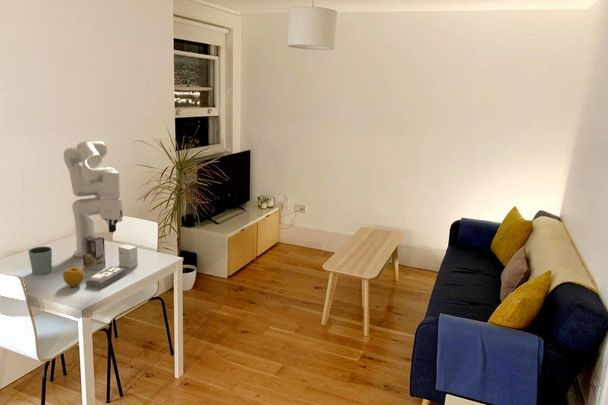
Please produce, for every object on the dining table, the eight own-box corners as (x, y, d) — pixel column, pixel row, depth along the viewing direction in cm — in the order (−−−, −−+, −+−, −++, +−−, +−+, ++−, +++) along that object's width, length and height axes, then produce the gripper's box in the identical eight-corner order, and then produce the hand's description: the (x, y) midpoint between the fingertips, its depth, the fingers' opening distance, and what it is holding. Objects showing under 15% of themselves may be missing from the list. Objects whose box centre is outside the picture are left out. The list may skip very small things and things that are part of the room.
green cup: (48, 276, 226) (47, 253, 223) (26, 276, 225) (24, 253, 222) (56, 268, 236) (54, 246, 233) (34, 268, 234) (33, 246, 231)
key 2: (113, 272, 234) (113, 267, 233) (121, 274, 233) (121, 268, 232) (107, 276, 230) (107, 270, 229) (115, 277, 229) (115, 271, 228)
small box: (138, 265, 247) (137, 246, 244) (130, 268, 242) (129, 249, 239) (126, 262, 250) (126, 243, 247) (118, 265, 245) (118, 246, 242)
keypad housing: (111, 271, 236) (111, 266, 235) (125, 274, 234) (125, 268, 233) (86, 286, 218) (86, 280, 217) (101, 288, 216) (101, 282, 215)
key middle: (105, 277, 228) (105, 271, 228) (113, 278, 227) (113, 272, 227) (99, 280, 224) (99, 274, 223) (107, 281, 223) (107, 276, 222)
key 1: (97, 279, 222) (97, 273, 222) (105, 280, 221) (105, 274, 221) (91, 282, 218) (90, 276, 217) (99, 284, 217) (99, 278, 216)
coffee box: (106, 266, 242) (104, 237, 238) (97, 270, 236) (95, 241, 232) (92, 263, 245) (90, 235, 241) (82, 267, 239) (81, 238, 235)
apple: (75, 280, 223) (74, 263, 221) (89, 284, 220) (88, 266, 218) (59, 286, 215) (58, 269, 213) (73, 291, 212) (72, 272, 210)
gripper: (92, 195, 220) (94, 231, 224) (120, 199, 217) (120, 236, 221) (103, 192, 227) (104, 227, 232) (129, 196, 224) (130, 231, 228)
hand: (112, 231), depth 226 cm, fingers closed
